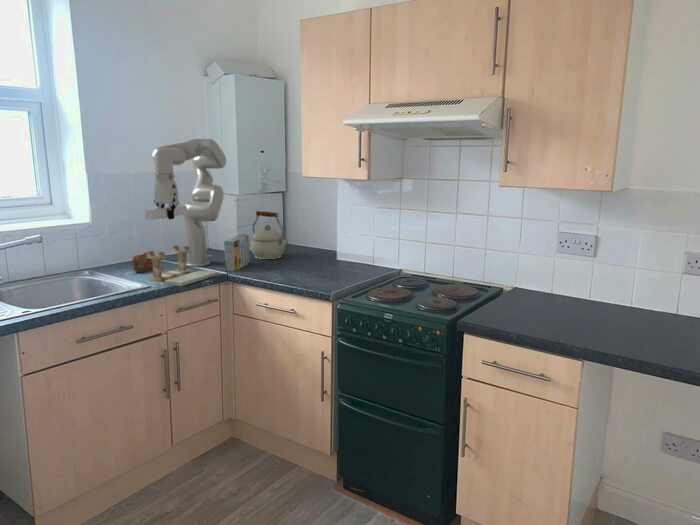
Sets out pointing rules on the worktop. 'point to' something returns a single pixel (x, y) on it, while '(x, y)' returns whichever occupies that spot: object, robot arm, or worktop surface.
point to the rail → (164, 212)
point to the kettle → (267, 240)
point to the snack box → (237, 252)
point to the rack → (161, 276)
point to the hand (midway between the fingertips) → (167, 218)
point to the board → (190, 278)
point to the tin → (142, 262)
